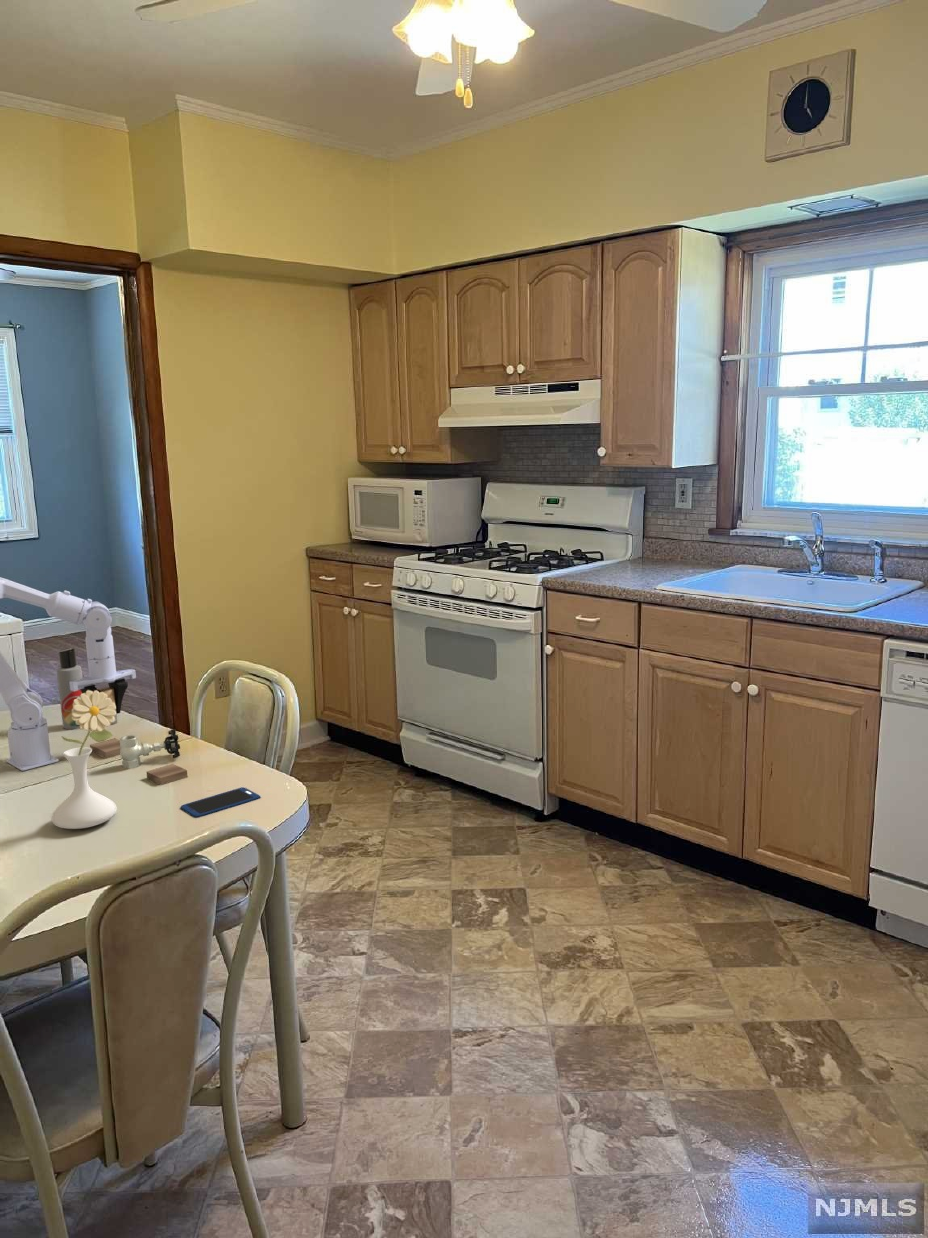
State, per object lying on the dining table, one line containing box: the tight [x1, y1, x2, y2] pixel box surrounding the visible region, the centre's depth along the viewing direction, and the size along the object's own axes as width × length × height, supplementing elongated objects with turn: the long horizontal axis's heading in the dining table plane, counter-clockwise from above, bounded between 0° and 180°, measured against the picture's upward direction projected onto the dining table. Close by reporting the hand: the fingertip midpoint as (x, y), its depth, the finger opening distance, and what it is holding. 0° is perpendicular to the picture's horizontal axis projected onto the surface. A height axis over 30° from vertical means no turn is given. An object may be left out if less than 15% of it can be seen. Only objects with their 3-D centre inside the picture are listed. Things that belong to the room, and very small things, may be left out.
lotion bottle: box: [56, 647, 83, 730], centre depth 229 cm, size 6×6×20 cm
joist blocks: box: [89, 737, 188, 786], centre depth 203 cm, size 33×6×2 cm, turn 46°
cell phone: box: [180, 786, 261, 819], centre depth 179 cm, size 7×14×1 cm, turn 132°
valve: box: [119, 728, 181, 770], centre depth 203 cm, size 7×7×12 cm
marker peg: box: [97, 686, 118, 726], centre depth 209 cm, size 4×4×8 cm
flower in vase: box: [51, 690, 118, 830], centre depth 170 cm, size 13×11×25 cm
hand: (107, 715), depth 210 cm, fingers closed on marker peg, 4 cm apart
